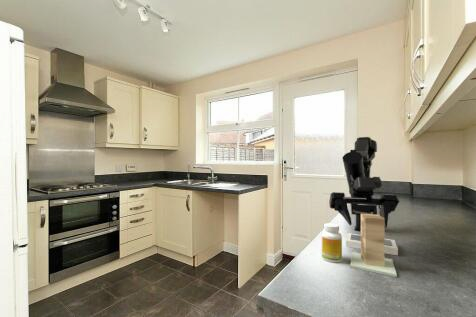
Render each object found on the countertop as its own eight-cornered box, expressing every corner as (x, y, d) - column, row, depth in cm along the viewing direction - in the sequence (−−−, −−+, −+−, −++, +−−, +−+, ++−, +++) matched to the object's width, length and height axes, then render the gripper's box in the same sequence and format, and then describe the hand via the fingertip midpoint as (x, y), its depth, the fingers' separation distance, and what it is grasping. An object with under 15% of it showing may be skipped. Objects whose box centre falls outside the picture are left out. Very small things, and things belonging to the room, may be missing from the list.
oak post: (360, 257, 64) (360, 213, 64) (378, 259, 62) (378, 214, 63) (365, 264, 59) (365, 217, 60) (384, 266, 58) (384, 218, 58)
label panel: (347, 238, 82) (347, 232, 82) (394, 246, 75) (394, 239, 75) (346, 246, 74) (346, 239, 74) (397, 255, 67) (397, 248, 67)
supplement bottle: (344, 264, 61) (344, 228, 61) (323, 262, 62) (323, 226, 62) (339, 256, 66) (339, 223, 66) (320, 254, 67) (320, 221, 67)
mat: (352, 254, 68) (352, 252, 68) (392, 261, 63) (392, 259, 63) (350, 267, 59) (350, 264, 59) (396, 277, 54) (396, 274, 54)
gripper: (330, 167, 72) (337, 208, 61) (396, 168, 68) (415, 212, 57) (327, 188, 80) (332, 228, 69) (386, 190, 75) (401, 233, 64)
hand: (368, 225), depth 65 cm, fingers open, 9 cm apart
